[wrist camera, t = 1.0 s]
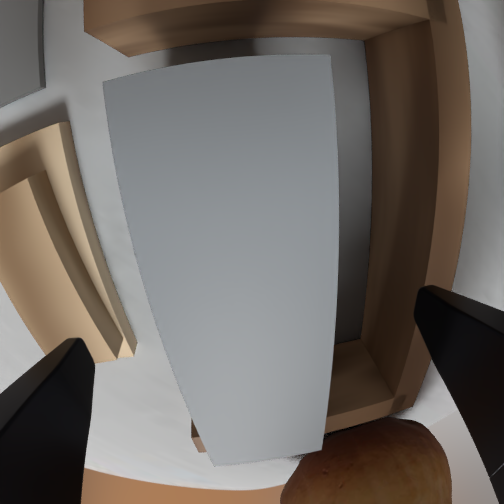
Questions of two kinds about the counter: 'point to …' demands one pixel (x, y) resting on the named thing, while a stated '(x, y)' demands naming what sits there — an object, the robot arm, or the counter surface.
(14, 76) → the mat
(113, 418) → the counter surface
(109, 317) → the offcut upper
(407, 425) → the butternut squash
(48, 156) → the offcut lower
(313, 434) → the gray rectangular block
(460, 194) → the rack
